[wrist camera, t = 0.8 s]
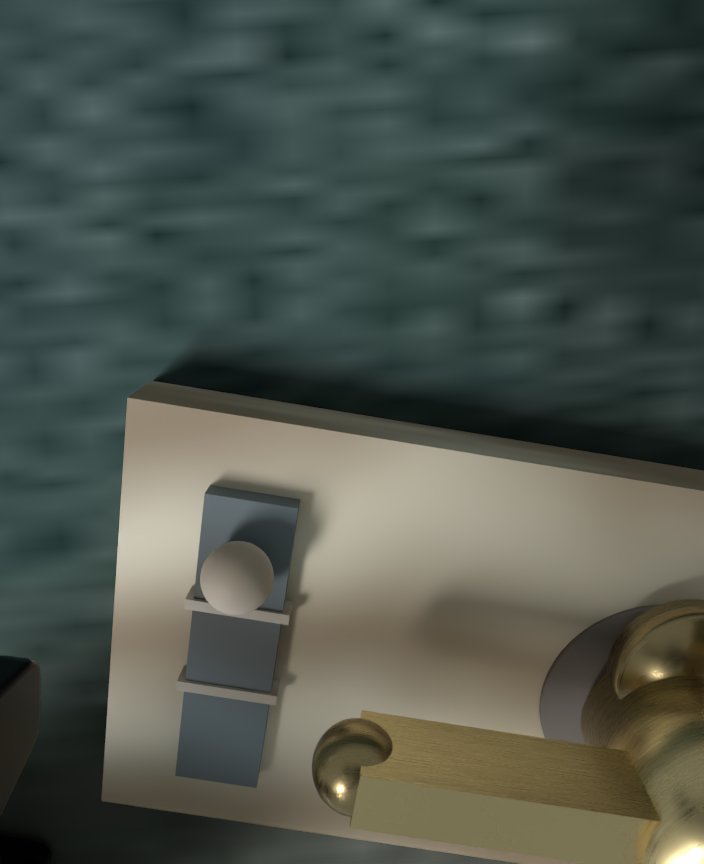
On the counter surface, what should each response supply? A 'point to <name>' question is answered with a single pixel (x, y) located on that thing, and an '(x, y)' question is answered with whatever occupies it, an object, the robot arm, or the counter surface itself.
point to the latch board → (362, 593)
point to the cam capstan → (547, 764)
